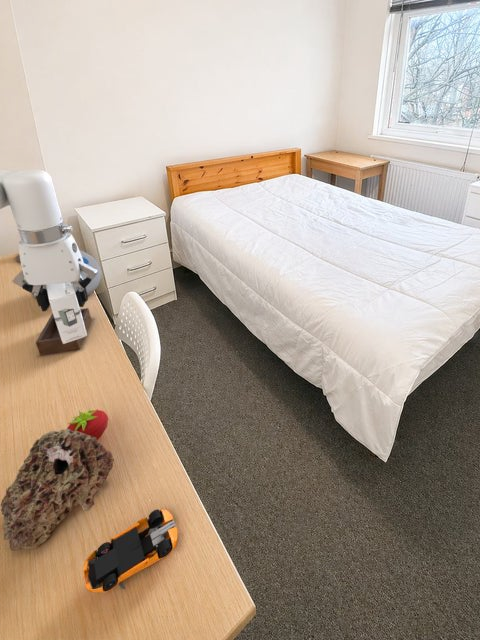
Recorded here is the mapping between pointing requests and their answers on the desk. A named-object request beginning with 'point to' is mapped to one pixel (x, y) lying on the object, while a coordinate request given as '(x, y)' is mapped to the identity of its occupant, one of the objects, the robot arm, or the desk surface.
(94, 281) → the grey round disc
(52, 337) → the holder
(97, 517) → the desk surface
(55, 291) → the ink box
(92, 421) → the strawberry
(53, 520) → the coral
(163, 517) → the toy car
